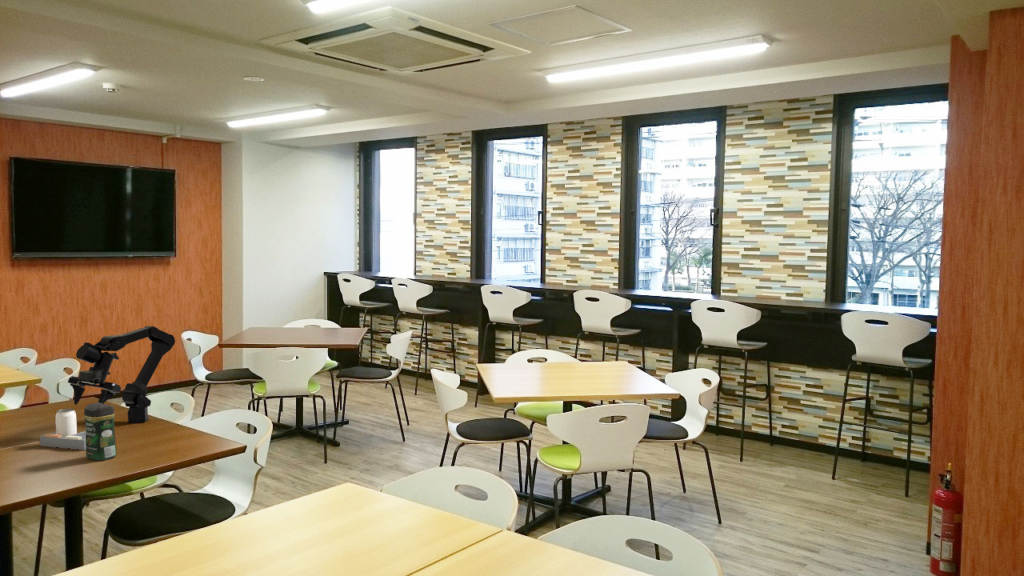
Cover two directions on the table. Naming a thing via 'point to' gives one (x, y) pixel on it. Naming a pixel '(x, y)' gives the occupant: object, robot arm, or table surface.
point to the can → (66, 422)
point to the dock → (64, 441)
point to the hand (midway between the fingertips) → (86, 406)
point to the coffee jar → (99, 431)
